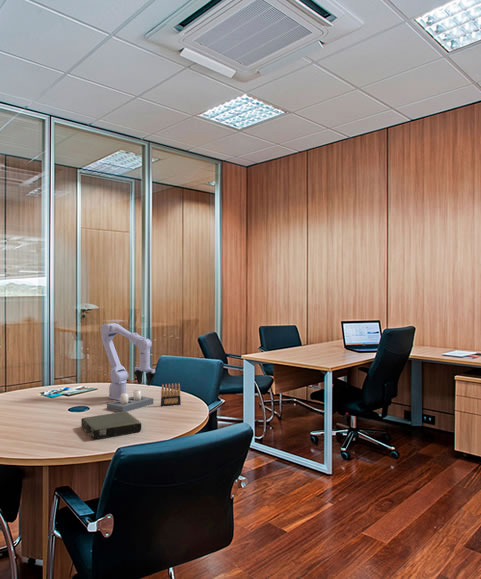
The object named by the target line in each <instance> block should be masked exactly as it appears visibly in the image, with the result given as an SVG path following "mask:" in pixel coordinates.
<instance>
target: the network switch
mask: <svg viewBox="0 0 481 579" xmlns="http://www.w3.org/2000/svg"><path fill="white" fill-rule="evenodd" d="M80 426H81V428H82V429H83V430H84V431H85V432H86V434H88V435H89V436H90V437H91V438H92V439H93V440H94V441H98V440H101V439H106V438H107V439H108V438H112V437H116V436H123V435H124V436H125V435H131V434H132V433H133V434H137V433H138V434H139V432H140V433H141V430H142V423H141V421H140V420H139V419H138V418H136V417H135V416H133V415H132V414H131V413H129V411H127V412H117V411H116V412H113V413H108V414H107V413H106V414H99V415H93V416H92V415H91V416H87V417H82V418H81V421H80Z"/></svg>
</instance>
